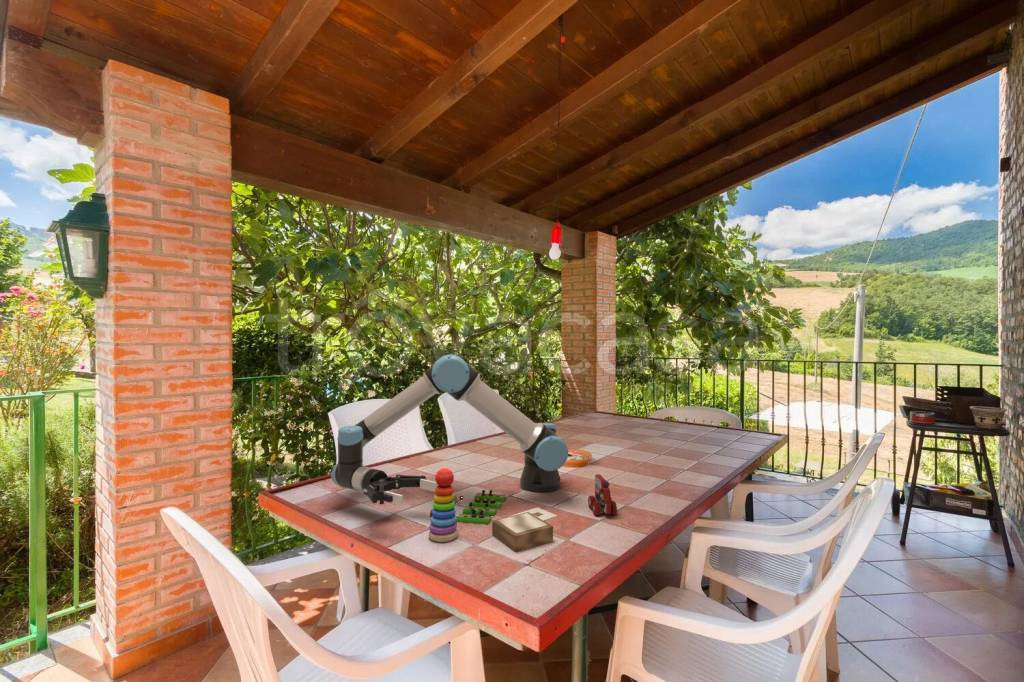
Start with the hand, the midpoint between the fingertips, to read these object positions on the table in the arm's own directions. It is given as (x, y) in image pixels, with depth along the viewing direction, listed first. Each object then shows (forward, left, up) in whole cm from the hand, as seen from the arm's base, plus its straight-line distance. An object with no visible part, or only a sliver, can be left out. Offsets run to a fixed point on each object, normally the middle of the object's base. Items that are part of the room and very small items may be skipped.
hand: (420, 493), depth 132 cm
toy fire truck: (-54, +17, -11) cm, 57 cm away
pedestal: (-22, +20, -10) cm, 31 cm away
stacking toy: (-4, +8, -11) cm, 14 cm away
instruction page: (-33, +9, -10) cm, 35 cm away
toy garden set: (-19, -8, -11) cm, 24 cm away
